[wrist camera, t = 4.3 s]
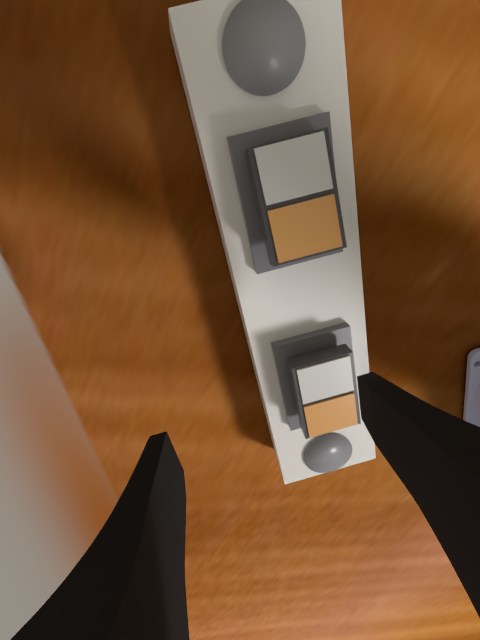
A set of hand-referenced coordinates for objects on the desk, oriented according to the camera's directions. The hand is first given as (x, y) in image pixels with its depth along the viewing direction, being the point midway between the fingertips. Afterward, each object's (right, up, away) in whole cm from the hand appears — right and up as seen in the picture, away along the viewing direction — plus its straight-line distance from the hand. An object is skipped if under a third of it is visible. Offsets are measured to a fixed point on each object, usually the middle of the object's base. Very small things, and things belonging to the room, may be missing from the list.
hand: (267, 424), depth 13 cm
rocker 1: (+1, +9, +1) cm, 9 cm away
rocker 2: (+3, 0, +5) cm, 6 cm away
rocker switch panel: (+2, +6, +7) cm, 9 cm away
